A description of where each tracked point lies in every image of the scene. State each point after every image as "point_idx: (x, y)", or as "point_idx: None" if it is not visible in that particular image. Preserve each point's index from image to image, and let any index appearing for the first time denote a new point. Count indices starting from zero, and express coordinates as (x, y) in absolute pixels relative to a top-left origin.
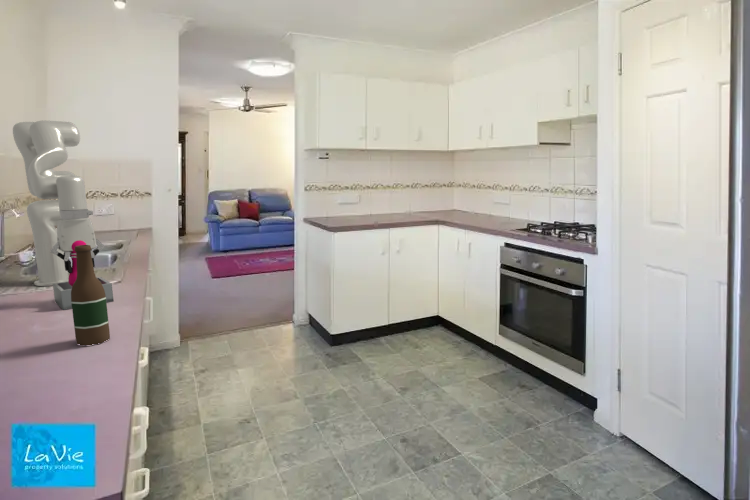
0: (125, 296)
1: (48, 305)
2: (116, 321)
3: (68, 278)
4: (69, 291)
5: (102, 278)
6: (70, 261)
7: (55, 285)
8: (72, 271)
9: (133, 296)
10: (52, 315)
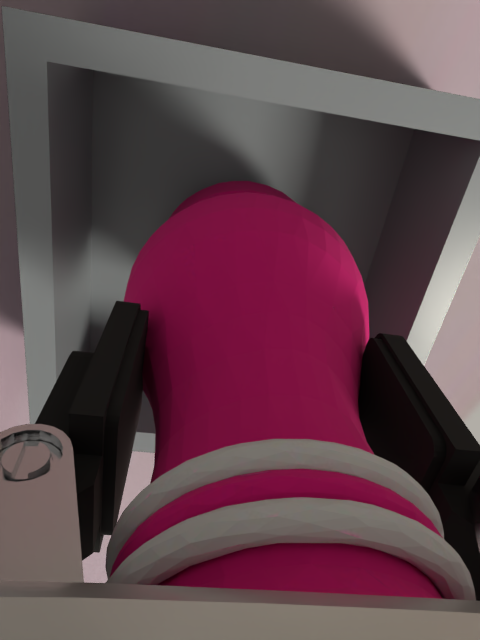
0: (454, 326)
1: (10, 140)
2: None
3: (128, 285)
4: None
5: (477, 224)
6: (109, 532)
7: (19, 174)
8: (149, 401)
9: (474, 362)
10: (8, 414)
